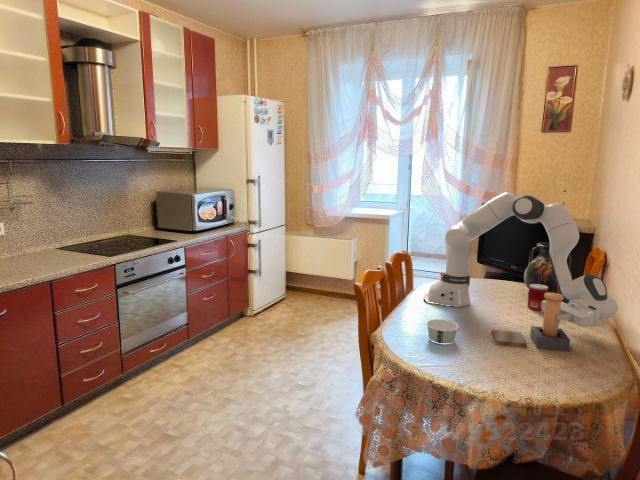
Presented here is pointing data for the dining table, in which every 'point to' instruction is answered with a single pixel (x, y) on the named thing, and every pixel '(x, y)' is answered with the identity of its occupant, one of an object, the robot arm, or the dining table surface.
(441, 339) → the food container
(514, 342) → the walnut board
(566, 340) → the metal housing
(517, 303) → the dining table surface
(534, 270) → the amphora vase
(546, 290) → the canned food
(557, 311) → the tan peg
